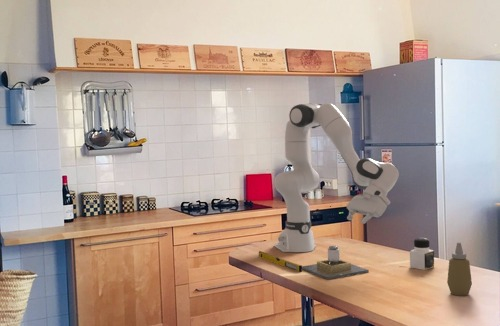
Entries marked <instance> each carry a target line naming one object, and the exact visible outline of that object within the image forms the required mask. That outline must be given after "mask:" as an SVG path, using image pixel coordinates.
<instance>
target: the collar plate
mask: <svg viewBox="0 0 500 326" xmlns="http://www.w3.org/2000/svg"><path fill="white" fill-rule="evenodd" d="M302 271H305V272H308V273H310V274H312V275H314V276H317V277H320V278H323V279H324V280H333V279H338V278H344V277H350V276H355V275H361V274H366V273H369V269H367V268H364V267H362V266H358V265H355V264H352V262H349V261H345V260H344V259H340V264H338V265H332V266H331V265H328V259H324V260H318V261H316V263H313V264H308V265H302Z"/></svg>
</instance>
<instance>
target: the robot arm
mask: <svg viewBox="0 0 500 326" xmlns="http://www.w3.org/2000/svg"><path fill="white" fill-rule="evenodd" d="M288 116H289V120H288V121H287V122H286V127H285V131H284V133H285V134H284V151H285V152H284V154H285V155H284V156H285V158H286V160H287V161H288V162H290V163H291V165H292V169H293V170H285V171H283V172H279V173H278V174H277V175H276V176H275V178H274V181H273V183H274V188H275V189H276V191H277V193H280V195H281V196H282V198H283V200H284V202H285V207H286V221H284V223H285V228H284V229H283V231H281V233H280V234H278V238H277V239H278V243H275V244H274V245H273V246H274V248H276V249H278V250H279V251H281V252H282V253H308V252H311V251H314V250H315V249H316V247H317V244H315V238H314V232H313V230H312V229H311V228H312V221H311V210H310V209H311V207H310V205H309V203H308V201H306V200H304V198H303V194H302V193H303V192H304V193H305V192H309V191H313V190H315V189H317V188H318V187H319V185H320V181H321V179H320V175H319V173H318V172H317V171H316V169H314V167H313V166H312V162H311V160H310V157H309V156H310V155H309V137H308V136H309V131H310V130H311V128H312V129H316V128H318V127H321V128H322V130H323V131H324V133H325V134H326V136H328V138H329V140H330V141H331V142H332V143H333V145H334V147H335V148H336V149H337V151H338V153H339V154H340V156H341V158H342V160H343V161H344V163H345V164H346V166H347V167H348V169H349V171H350V173H351V177H352V183H353V184H354V185H355V187H356V188H358V189H360V190H364V191H362V193H358V194H356V195H354V196H353V197H352V199H350V201H349V202H348V203H347V204H346V209H347V210H348V215H347V216H346V219H347V220H348V221H352V220H353V219H354V217H353V216H354V215H355V214H358V215H363V216H364V217H362V218H361V219H360V223H362V224H366V223H367V222H368V221H369V220H370V219H372V218H373V217H374V218H379V217H381V216H382V215H383V214H384V213H385V211H386V210H387V207H388V206H390V204H391V200H389V199H390V198H388V193H389V192H390V191H391V190H392V189H393V187H394V186H395V185H396V183H397V181H398V180H399V176H400V172H399V170H398V168H397V166H395V164H392V163H391V162H379V161H377V160H374V159H372V158H370V157H364V158H361V159H360V157H359V155H358V154H357V152H356V150H355V149H354V144H353V131H352V127H351V125H350V123H349V122H348V120H347V118H346V117H345V116H344V115H343V113H342V112H341V111H340V110H339V108H338V107H336V105H334V104H333V103H331V102H325V103H323V104H321V103H305V104H301V103H300V104H297V105H294V106H293V107H292V108H291V109H290V111H289V114H288Z"/></svg>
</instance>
